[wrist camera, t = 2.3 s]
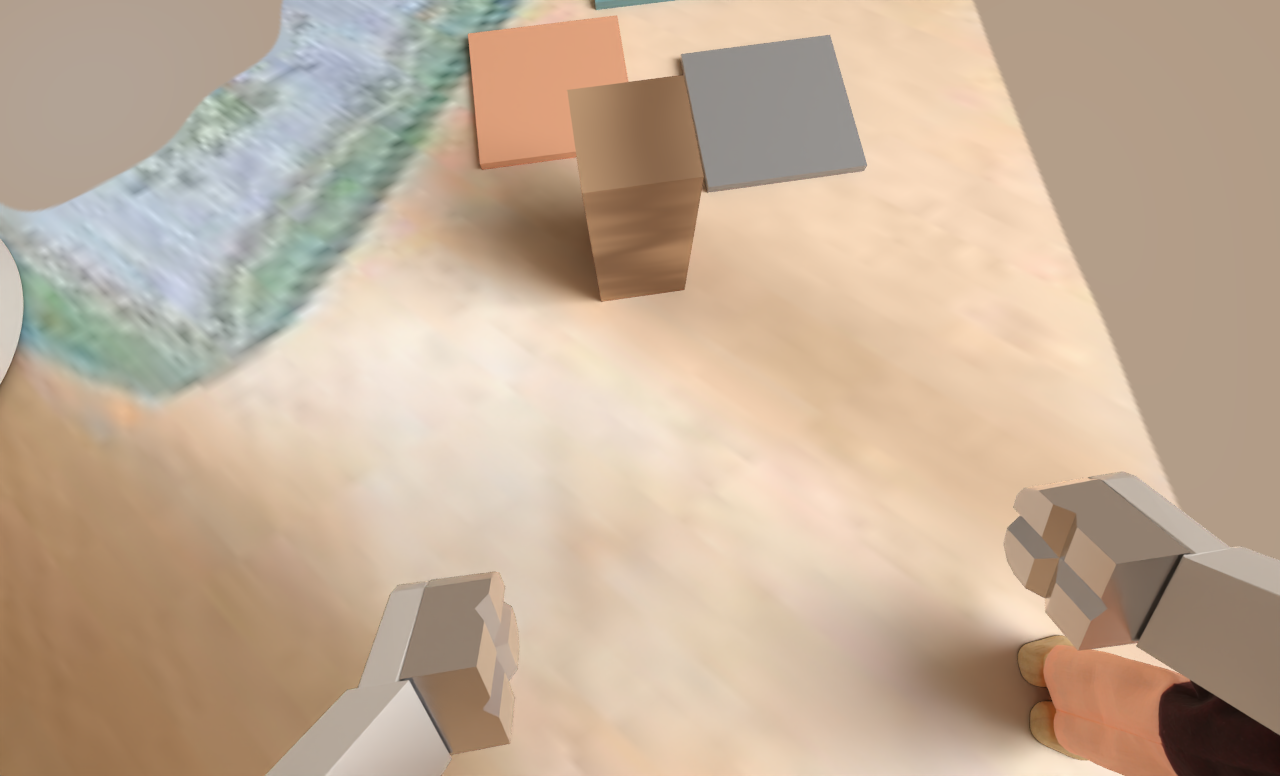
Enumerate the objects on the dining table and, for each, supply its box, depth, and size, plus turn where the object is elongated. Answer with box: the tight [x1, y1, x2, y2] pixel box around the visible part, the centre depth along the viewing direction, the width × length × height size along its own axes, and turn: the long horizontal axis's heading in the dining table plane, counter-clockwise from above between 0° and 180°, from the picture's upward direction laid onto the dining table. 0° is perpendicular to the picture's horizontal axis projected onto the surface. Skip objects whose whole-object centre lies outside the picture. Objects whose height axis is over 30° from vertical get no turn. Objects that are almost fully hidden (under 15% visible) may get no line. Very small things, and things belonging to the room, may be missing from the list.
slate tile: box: [681, 35, 867, 193], centre depth 30 cm, size 8×8×1 cm
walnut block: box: [567, 75, 704, 302], centre depth 23 cm, size 4×4×9 cm
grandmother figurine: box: [1018, 636, 1280, 776], centre depth 17 cm, size 8×4×13 cm, turn 11°
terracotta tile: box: [468, 16, 628, 170], centre depth 30 cm, size 8×8×1 cm
